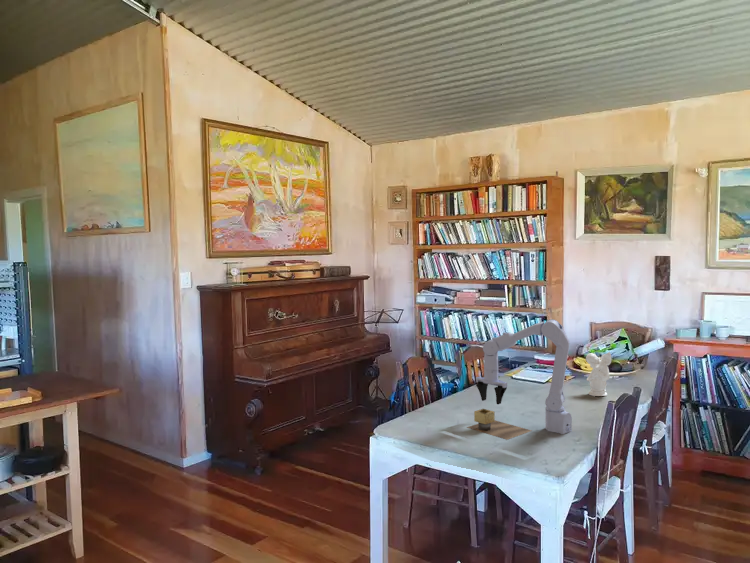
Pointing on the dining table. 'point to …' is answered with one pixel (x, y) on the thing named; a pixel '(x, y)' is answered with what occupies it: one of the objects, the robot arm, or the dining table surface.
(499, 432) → the peg board
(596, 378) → the cherub figurine
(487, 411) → the brass collar
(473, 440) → the dining table surface
